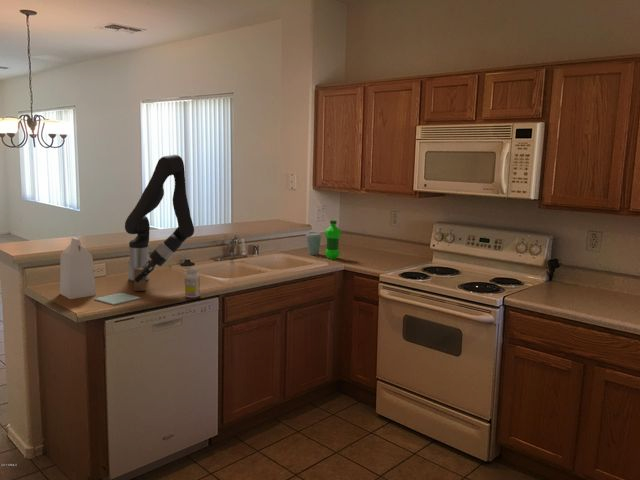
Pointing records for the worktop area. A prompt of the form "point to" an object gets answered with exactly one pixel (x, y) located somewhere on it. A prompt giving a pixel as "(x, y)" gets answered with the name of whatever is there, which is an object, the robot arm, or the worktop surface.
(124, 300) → the sage board
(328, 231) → the plastic bottle
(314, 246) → the disposable coffee cup
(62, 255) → the milk
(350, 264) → the worktop surface
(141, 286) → the walnut block
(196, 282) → the supplement bottle
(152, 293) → the worktop surface
